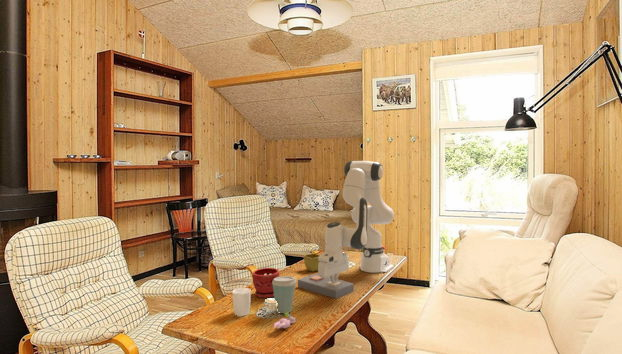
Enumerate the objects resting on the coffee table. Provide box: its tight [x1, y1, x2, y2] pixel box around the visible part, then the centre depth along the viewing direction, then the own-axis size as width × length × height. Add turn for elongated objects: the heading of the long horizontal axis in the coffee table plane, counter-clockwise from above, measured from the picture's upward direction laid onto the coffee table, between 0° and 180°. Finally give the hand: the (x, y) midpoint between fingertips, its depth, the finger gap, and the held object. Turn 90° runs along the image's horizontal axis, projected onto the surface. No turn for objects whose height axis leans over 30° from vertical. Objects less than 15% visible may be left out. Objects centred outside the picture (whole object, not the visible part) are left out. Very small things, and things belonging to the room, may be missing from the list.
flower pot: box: [303, 253, 321, 272], centre depth 228 cm, size 9×9×9 cm
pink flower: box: [273, 312, 298, 330], centre depth 149 cm, size 6×6×15 cm
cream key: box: [327, 281, 341, 286], centre depth 190 cm, size 5×5×3 cm
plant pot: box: [252, 267, 280, 299], centre depth 186 cm, size 13×13×12 cm
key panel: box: [297, 273, 355, 300], centre depth 194 cm, size 14×26×4 cm, turn 47°
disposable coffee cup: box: [272, 275, 297, 314], centre depth 165 cm, size 11×11×15 cm
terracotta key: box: [310, 276, 323, 281], centre depth 198 cm, size 5×5×3 cm
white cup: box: [231, 287, 252, 317], centre depth 163 cm, size 8×8×10 cm
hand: (334, 282), depth 190 cm, fingers closed, pressing on cream key
